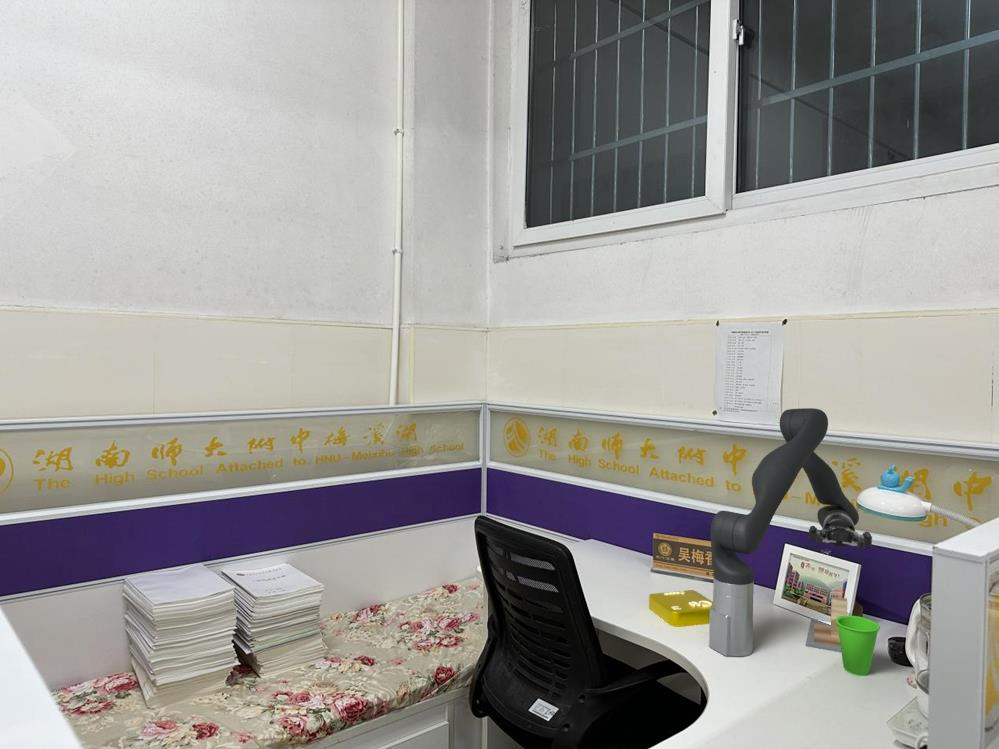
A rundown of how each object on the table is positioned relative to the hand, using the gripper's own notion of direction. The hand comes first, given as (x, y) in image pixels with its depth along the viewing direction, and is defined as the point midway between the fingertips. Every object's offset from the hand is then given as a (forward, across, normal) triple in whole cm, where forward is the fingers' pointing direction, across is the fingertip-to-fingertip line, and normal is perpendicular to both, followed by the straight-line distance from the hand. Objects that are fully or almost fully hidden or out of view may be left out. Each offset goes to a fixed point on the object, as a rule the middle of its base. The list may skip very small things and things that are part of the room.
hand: (840, 543), depth 172 cm
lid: (-4, 0, +25) cm, 25 cm away
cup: (+12, +4, +26) cm, 29 cm away
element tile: (-6, -38, +27) cm, 47 cm away
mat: (-6, 0, +26) cm, 26 cm away
